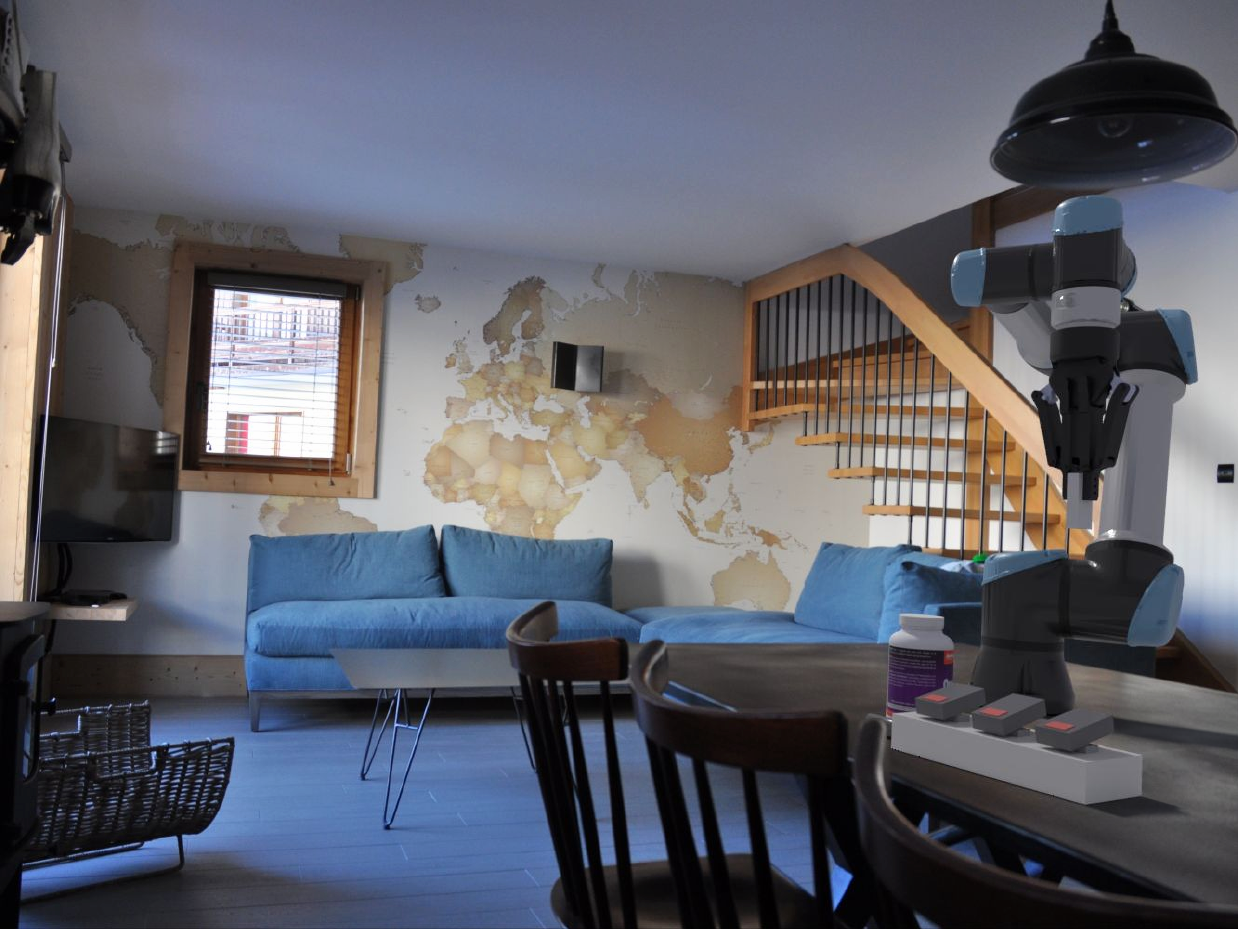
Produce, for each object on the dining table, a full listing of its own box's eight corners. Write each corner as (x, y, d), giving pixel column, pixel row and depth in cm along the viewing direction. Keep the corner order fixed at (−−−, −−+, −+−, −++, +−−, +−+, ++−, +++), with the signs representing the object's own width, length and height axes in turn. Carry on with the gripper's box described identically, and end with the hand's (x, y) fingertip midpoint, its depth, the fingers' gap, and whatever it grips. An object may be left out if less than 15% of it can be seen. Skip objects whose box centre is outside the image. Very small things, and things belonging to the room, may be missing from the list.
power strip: (895, 729, 133) (897, 692, 133) (1141, 795, 105) (1142, 748, 105) (842, 734, 128) (844, 695, 129) (1084, 804, 100) (1086, 754, 100)
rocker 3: (1079, 724, 110) (1077, 706, 110) (1114, 732, 107) (1112, 714, 107) (1036, 742, 107) (1034, 724, 106) (1071, 751, 103) (1069, 732, 103)
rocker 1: (958, 697, 124) (956, 682, 124) (985, 703, 120) (984, 687, 120) (916, 713, 120) (914, 697, 120) (943, 720, 117) (942, 703, 117)
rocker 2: (1015, 709, 117) (1013, 692, 117) (1046, 715, 114) (1044, 698, 113) (973, 728, 113) (970, 711, 113) (1004, 736, 110) (1001, 718, 110)
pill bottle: (954, 738, 130) (958, 620, 130) (887, 732, 131) (891, 616, 132) (947, 725, 138) (951, 615, 138) (884, 720, 139) (888, 611, 140)
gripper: (1017, 332, 128) (1011, 525, 127) (1116, 317, 117) (1110, 529, 116) (1057, 339, 132) (1051, 528, 131) (1156, 326, 121) (1151, 532, 120)
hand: (1079, 528), depth 123 cm, fingers closed
